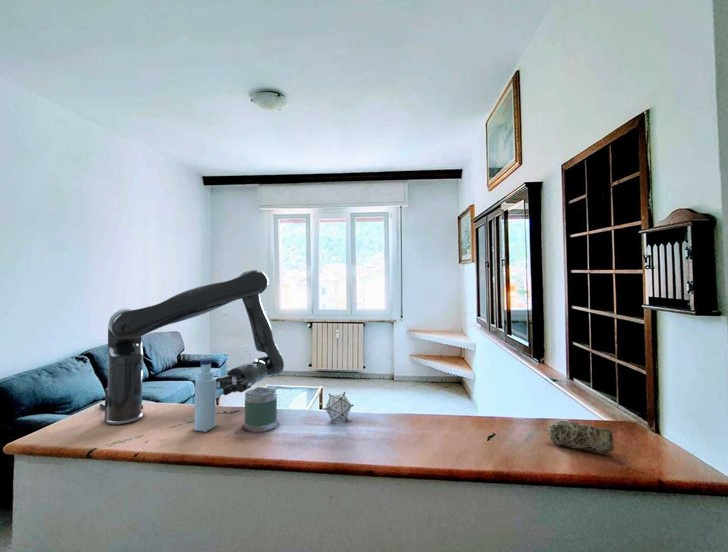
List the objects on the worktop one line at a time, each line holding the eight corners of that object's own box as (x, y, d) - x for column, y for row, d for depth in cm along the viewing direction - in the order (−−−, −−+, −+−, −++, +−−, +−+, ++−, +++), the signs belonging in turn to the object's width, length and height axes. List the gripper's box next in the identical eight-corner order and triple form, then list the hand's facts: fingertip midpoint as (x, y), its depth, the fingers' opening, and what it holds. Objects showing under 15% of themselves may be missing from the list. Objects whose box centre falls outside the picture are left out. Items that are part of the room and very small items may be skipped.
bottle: (189, 431, 113) (191, 360, 114) (203, 423, 118) (204, 356, 119) (206, 433, 111) (207, 362, 112) (219, 426, 116) (220, 358, 117)
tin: (238, 429, 114) (238, 394, 114) (255, 418, 122) (256, 385, 123) (266, 433, 111) (266, 397, 111) (282, 422, 119) (282, 388, 120)
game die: (342, 435, 119) (349, 415, 113) (316, 422, 121) (321, 402, 115) (353, 411, 126) (359, 391, 121) (328, 400, 128) (334, 380, 123)
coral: (547, 446, 103) (546, 422, 103) (549, 438, 108) (549, 415, 108) (614, 460, 95) (613, 434, 95) (614, 450, 100) (613, 425, 101)
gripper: (226, 363, 136) (192, 375, 120) (262, 366, 131) (232, 379, 116) (225, 386, 135) (192, 400, 120) (262, 390, 131) (232, 405, 115)
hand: (212, 390), depth 118 cm, fingers open, 8 cm apart
